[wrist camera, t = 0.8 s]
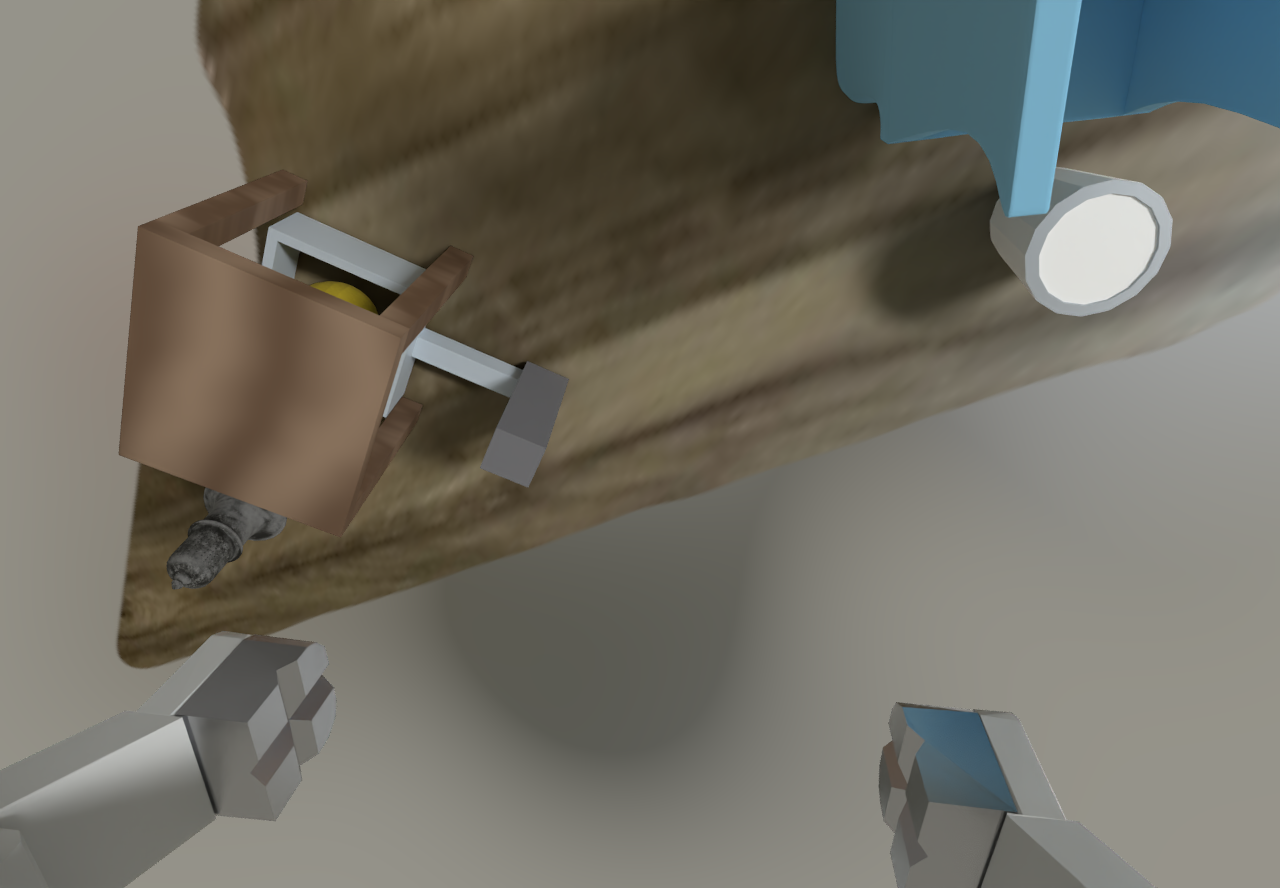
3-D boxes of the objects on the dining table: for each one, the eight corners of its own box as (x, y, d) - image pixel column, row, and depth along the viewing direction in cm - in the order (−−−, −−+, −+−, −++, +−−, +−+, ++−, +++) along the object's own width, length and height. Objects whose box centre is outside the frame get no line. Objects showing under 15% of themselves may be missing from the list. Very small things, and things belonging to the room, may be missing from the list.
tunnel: (248, 353, 50) (118, 454, 38) (282, 169, 43) (138, 226, 32) (417, 421, 52) (340, 537, 40) (473, 256, 45) (401, 338, 34)
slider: (272, 338, 49) (193, 401, 41) (297, 212, 44) (214, 254, 36) (537, 448, 52) (510, 525, 44) (586, 340, 47) (566, 404, 40)
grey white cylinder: (994, 294, 44) (1041, 338, 38) (964, 189, 42) (1010, 220, 36) (1114, 244, 43) (1183, 282, 37) (1092, 131, 40) (1163, 153, 34)
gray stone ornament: (255, 433, 53) (151, 535, 43) (323, 483, 55) (238, 592, 45) (216, 478, 55) (107, 585, 45) (282, 524, 57) (192, 637, 47)
